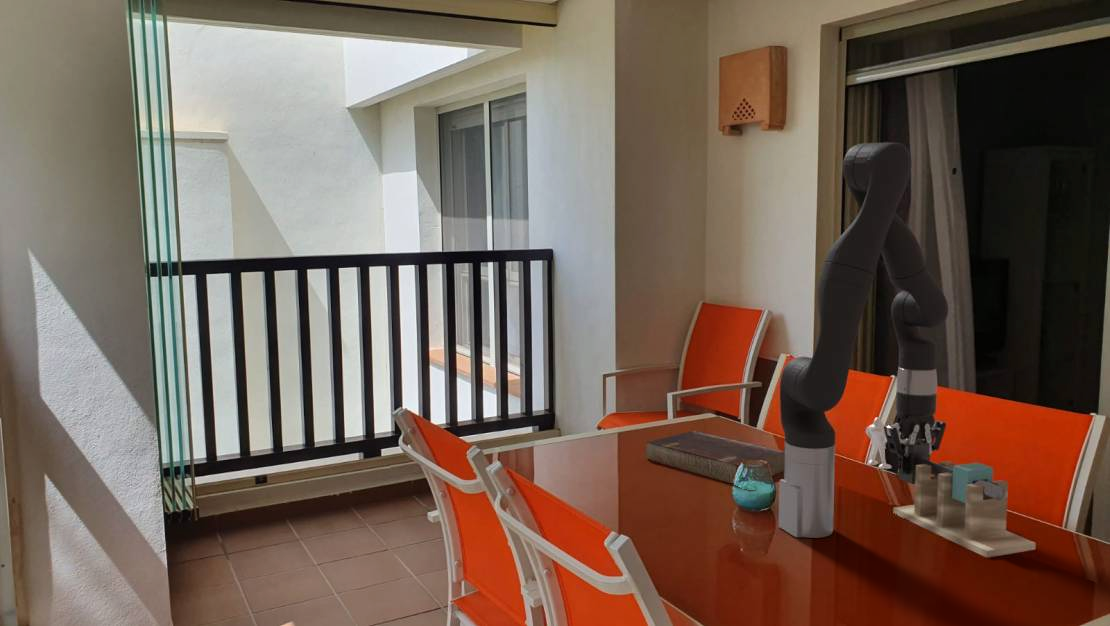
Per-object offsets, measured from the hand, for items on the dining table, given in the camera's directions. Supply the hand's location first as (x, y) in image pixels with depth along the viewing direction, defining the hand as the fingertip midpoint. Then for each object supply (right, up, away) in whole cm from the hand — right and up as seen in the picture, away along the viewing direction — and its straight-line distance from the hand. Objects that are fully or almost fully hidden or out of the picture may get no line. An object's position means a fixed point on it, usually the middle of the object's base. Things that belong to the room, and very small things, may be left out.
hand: (913, 471), depth 174 cm
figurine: (+4, -5, +30) cm, 31 cm away
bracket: (+4, -9, -11) cm, 15 cm away
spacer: (+5, -2, -15) cm, 16 cm away
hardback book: (-34, -5, +34) cm, 48 cm away
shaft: (+3, -3, -9) cm, 10 cm away
